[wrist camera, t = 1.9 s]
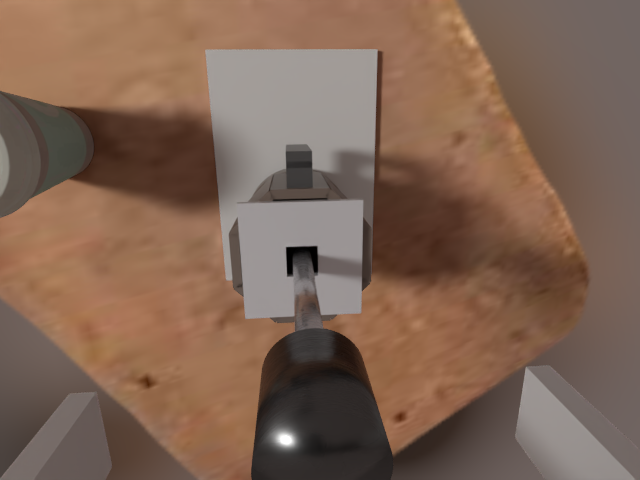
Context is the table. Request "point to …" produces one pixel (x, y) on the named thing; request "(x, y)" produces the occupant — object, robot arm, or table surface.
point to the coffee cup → (38, 149)
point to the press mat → (291, 121)
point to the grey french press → (300, 242)
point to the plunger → (317, 401)
